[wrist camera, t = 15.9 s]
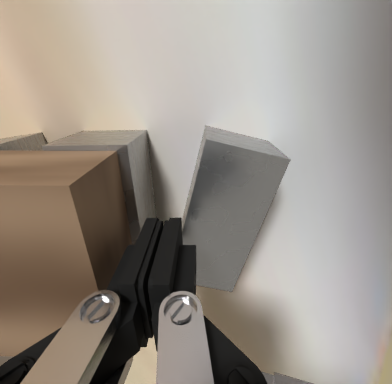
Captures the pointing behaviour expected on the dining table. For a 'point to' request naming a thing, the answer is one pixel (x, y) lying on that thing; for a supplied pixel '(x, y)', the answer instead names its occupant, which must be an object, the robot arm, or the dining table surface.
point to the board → (56, 238)
